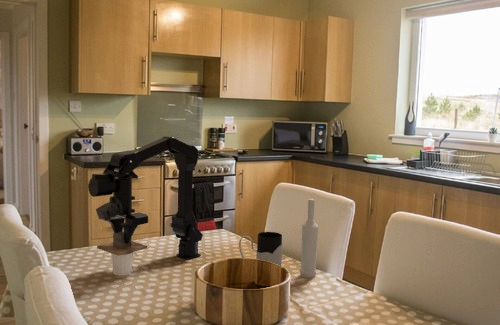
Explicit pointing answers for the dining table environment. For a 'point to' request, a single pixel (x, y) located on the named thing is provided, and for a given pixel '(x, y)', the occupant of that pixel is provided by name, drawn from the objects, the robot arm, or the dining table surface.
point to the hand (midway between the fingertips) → (122, 241)
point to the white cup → (122, 264)
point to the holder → (267, 247)
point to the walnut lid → (121, 245)
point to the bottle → (309, 243)
